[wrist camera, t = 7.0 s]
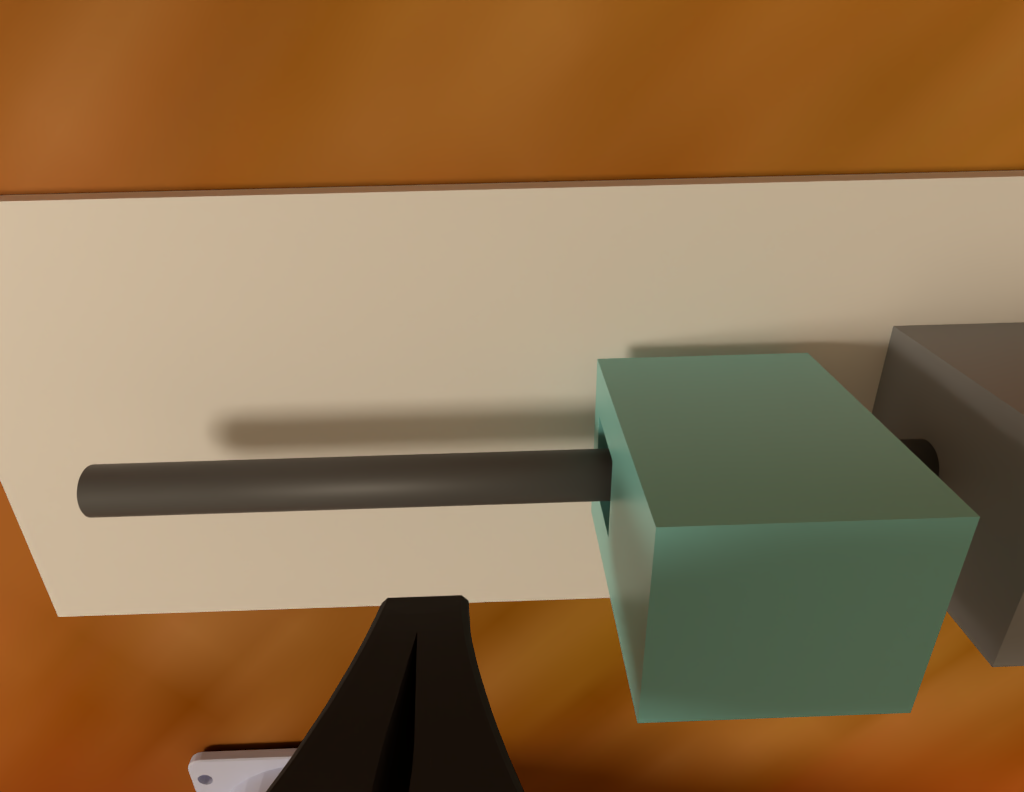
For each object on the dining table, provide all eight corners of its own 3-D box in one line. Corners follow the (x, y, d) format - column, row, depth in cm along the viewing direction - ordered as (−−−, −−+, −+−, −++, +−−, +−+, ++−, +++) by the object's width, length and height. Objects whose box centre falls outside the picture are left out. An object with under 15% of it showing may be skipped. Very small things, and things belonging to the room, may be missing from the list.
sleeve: (778, 505, 18) (910, 712, 13) (591, 510, 18) (637, 723, 12) (807, 352, 16) (980, 517, 11) (597, 358, 16) (655, 527, 10)
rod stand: (975, 566, 21) (1165, 770, 15) (73, 597, 21) (-97, 819, 15) (1120, 167, 16) (1502, 239, 10) (-90, 197, 16) (-458, 290, 10)
